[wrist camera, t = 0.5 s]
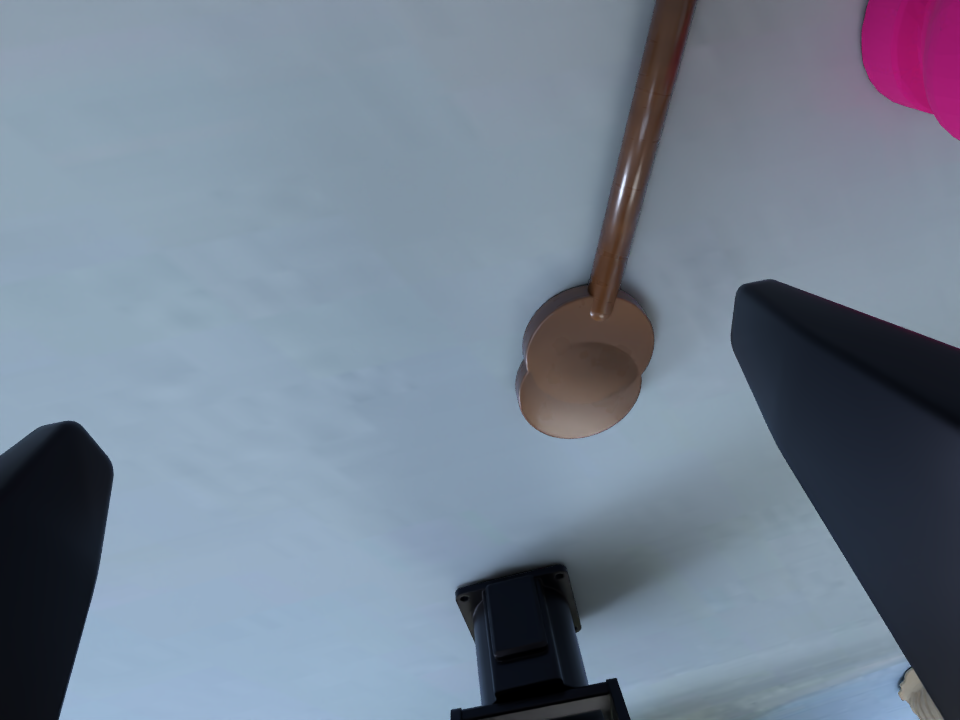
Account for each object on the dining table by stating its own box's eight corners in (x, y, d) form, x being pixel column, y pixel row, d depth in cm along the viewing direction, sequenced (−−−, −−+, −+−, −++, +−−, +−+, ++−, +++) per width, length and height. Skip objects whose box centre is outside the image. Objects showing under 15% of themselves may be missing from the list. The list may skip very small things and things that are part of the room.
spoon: (618, 426, 29) (626, 443, 28) (507, 424, 28) (511, 441, 27) (815, -202, 16) (842, -212, 15) (626, -239, 16) (641, -251, 15)
